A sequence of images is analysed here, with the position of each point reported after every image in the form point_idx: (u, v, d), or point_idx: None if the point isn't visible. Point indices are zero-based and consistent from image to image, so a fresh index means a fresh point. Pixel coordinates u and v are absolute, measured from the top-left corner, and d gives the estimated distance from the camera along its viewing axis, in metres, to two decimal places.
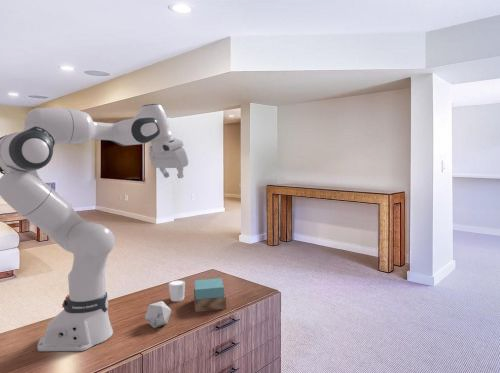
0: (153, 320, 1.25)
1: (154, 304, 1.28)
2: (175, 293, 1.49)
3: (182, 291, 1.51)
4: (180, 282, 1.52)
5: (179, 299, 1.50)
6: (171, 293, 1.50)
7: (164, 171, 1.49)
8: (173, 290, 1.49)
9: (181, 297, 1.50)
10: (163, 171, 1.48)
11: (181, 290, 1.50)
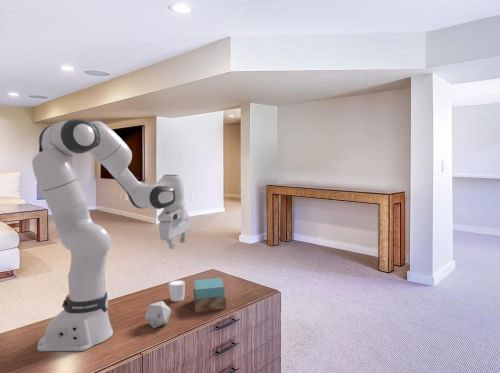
0: (153, 320, 1.25)
1: (154, 304, 1.28)
2: (175, 293, 1.49)
3: (182, 291, 1.51)
4: (180, 282, 1.53)
5: (179, 299, 1.50)
6: (171, 293, 1.50)
7: (183, 236, 1.56)
8: (173, 290, 1.49)
9: (181, 297, 1.50)
10: (182, 236, 1.57)
11: (181, 290, 1.50)
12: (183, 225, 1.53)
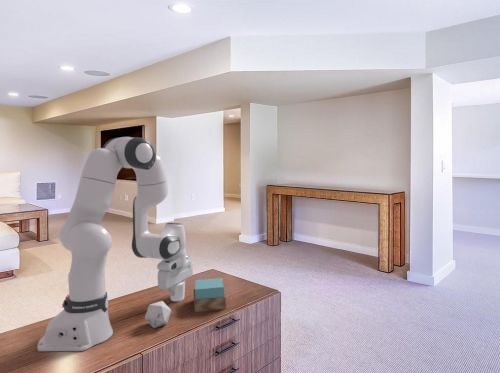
0: (153, 320, 1.25)
1: (154, 304, 1.28)
2: (175, 293, 1.49)
3: (182, 291, 1.51)
4: (180, 282, 1.52)
5: (179, 299, 1.50)
6: None
7: None
8: None
9: (181, 297, 1.50)
10: None
11: (181, 290, 1.50)
12: (184, 272, 1.54)
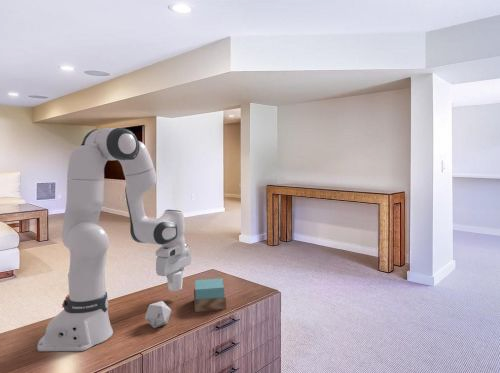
0: (153, 320, 1.25)
1: (154, 304, 1.28)
2: (173, 282, 1.48)
3: (180, 281, 1.50)
4: (178, 272, 1.52)
5: (177, 289, 1.49)
6: None
7: None
8: None
9: (179, 287, 1.50)
10: None
11: (179, 280, 1.49)
12: (182, 260, 1.53)
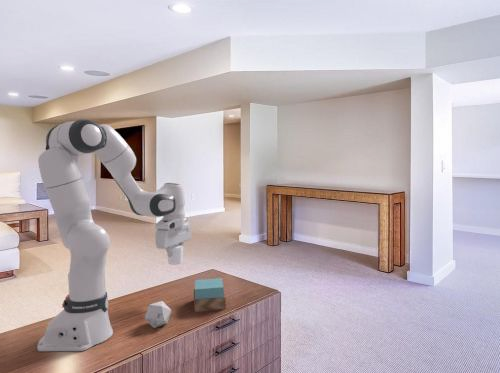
0: (153, 320, 1.25)
1: (154, 304, 1.28)
2: (173, 256, 1.48)
3: (180, 254, 1.49)
4: (178, 246, 1.51)
5: (177, 262, 1.49)
6: None
7: None
8: None
9: (179, 260, 1.49)
10: None
11: (179, 253, 1.49)
12: (182, 234, 1.52)
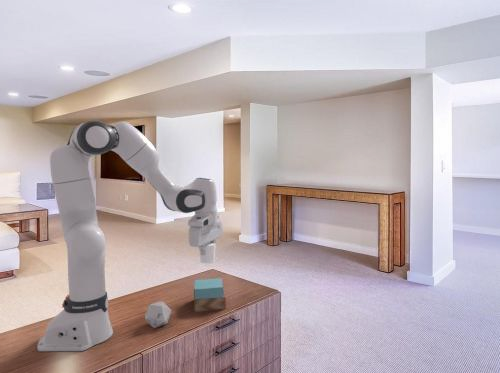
0: (153, 320, 1.25)
1: (154, 304, 1.28)
2: (206, 254, 1.41)
3: (213, 253, 1.43)
4: (211, 244, 1.45)
5: (210, 261, 1.42)
6: None
7: None
8: None
9: (212, 259, 1.43)
10: None
11: (212, 251, 1.42)
12: (214, 232, 1.46)
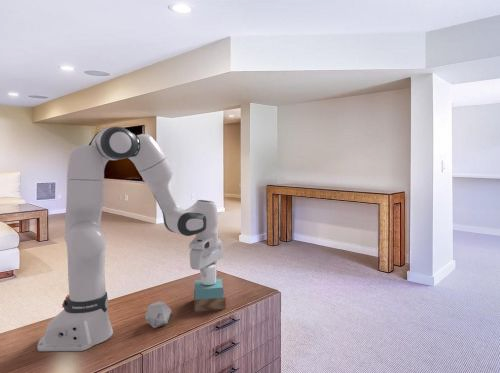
0: (153, 320, 1.25)
1: (154, 304, 1.28)
2: (207, 276, 1.42)
3: (214, 274, 1.43)
4: (212, 265, 1.45)
5: (211, 283, 1.43)
6: None
7: None
8: None
9: (213, 280, 1.43)
10: None
11: (213, 273, 1.43)
12: (215, 253, 1.46)
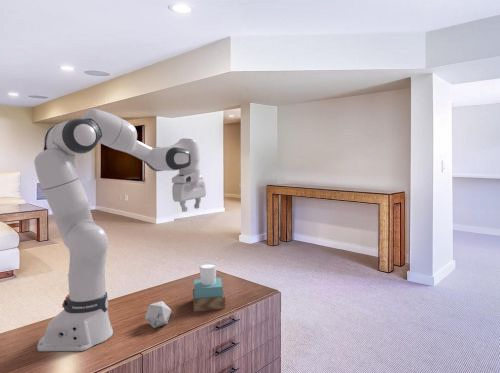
0: (153, 320, 1.25)
1: (154, 304, 1.28)
2: (207, 276, 1.43)
3: (214, 274, 1.44)
4: (211, 265, 1.46)
5: (211, 283, 1.44)
6: (203, 277, 1.43)
7: (197, 202, 1.58)
8: (205, 273, 1.42)
9: (213, 281, 1.44)
10: (196, 202, 1.59)
11: (213, 273, 1.44)
12: (197, 190, 1.55)
